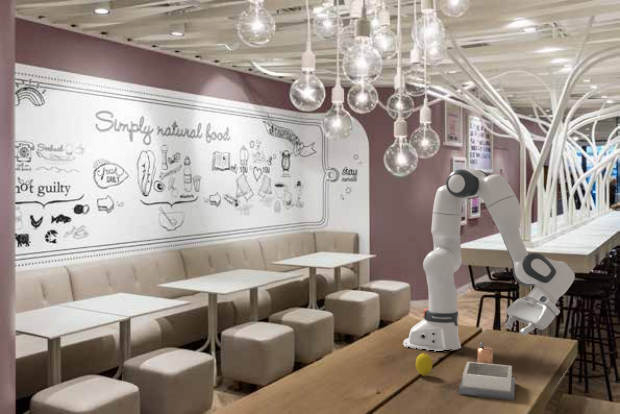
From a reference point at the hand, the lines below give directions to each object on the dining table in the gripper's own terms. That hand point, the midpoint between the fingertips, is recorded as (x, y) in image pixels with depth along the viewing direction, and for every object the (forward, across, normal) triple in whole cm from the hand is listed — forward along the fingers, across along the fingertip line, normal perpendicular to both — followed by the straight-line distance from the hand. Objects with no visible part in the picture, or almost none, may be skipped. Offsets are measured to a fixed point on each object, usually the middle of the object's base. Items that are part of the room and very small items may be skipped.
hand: (514, 330), depth 213 cm
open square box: (+23, +16, -4) cm, 29 cm away
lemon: (+34, 0, -14) cm, 36 cm away
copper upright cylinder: (+18, 0, +2) cm, 18 cm away
